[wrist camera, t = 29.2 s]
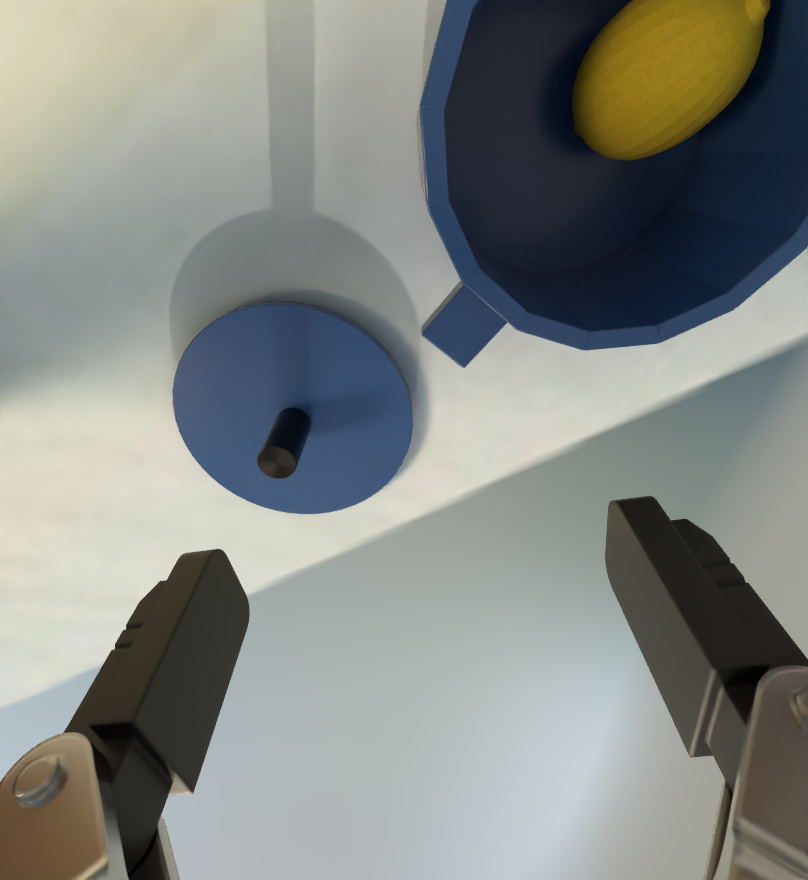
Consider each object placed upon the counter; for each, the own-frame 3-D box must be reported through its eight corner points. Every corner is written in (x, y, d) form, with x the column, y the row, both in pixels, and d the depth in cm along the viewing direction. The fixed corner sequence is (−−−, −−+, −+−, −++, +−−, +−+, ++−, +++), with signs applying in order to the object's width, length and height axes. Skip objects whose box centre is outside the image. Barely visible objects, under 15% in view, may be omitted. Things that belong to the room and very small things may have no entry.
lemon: (585, 53, 24) (777, -110, 16) (629, 164, 25) (821, 59, 18) (515, 90, 21) (700, -80, 14) (568, 209, 23) (757, 108, 16)
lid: (140, 427, 34) (93, 477, 29) (255, 241, 27) (219, 264, 22) (326, 536, 39) (314, 595, 34) (460, 400, 32) (469, 448, 27)
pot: (331, 205, 26) (290, 237, 17) (635, -255, 18) (852, -640, 9) (520, 364, 31) (564, 454, 22) (831, 55, 23) (1102, -1, 14)
